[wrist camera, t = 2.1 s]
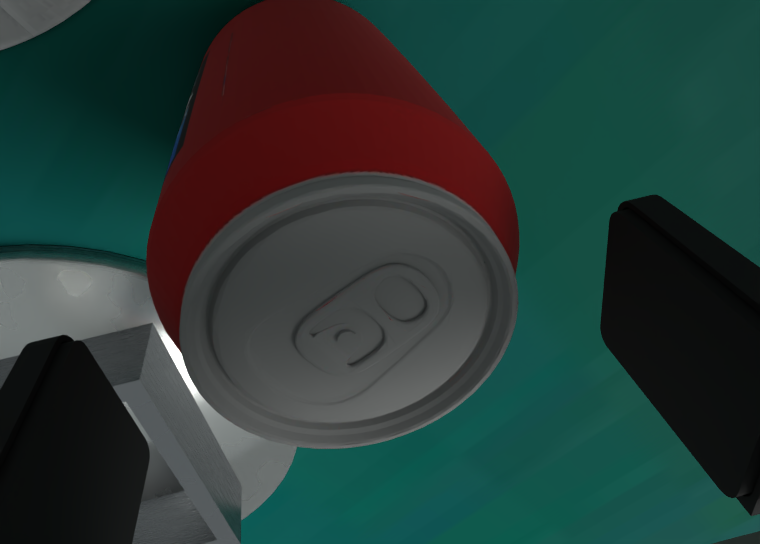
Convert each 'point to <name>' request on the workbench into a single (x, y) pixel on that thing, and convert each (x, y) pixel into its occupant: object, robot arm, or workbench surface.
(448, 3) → the workbench surface
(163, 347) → the rosette plate
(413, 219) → the beverage can
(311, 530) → the workbench surface
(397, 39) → the workbench surface
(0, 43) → the ring
